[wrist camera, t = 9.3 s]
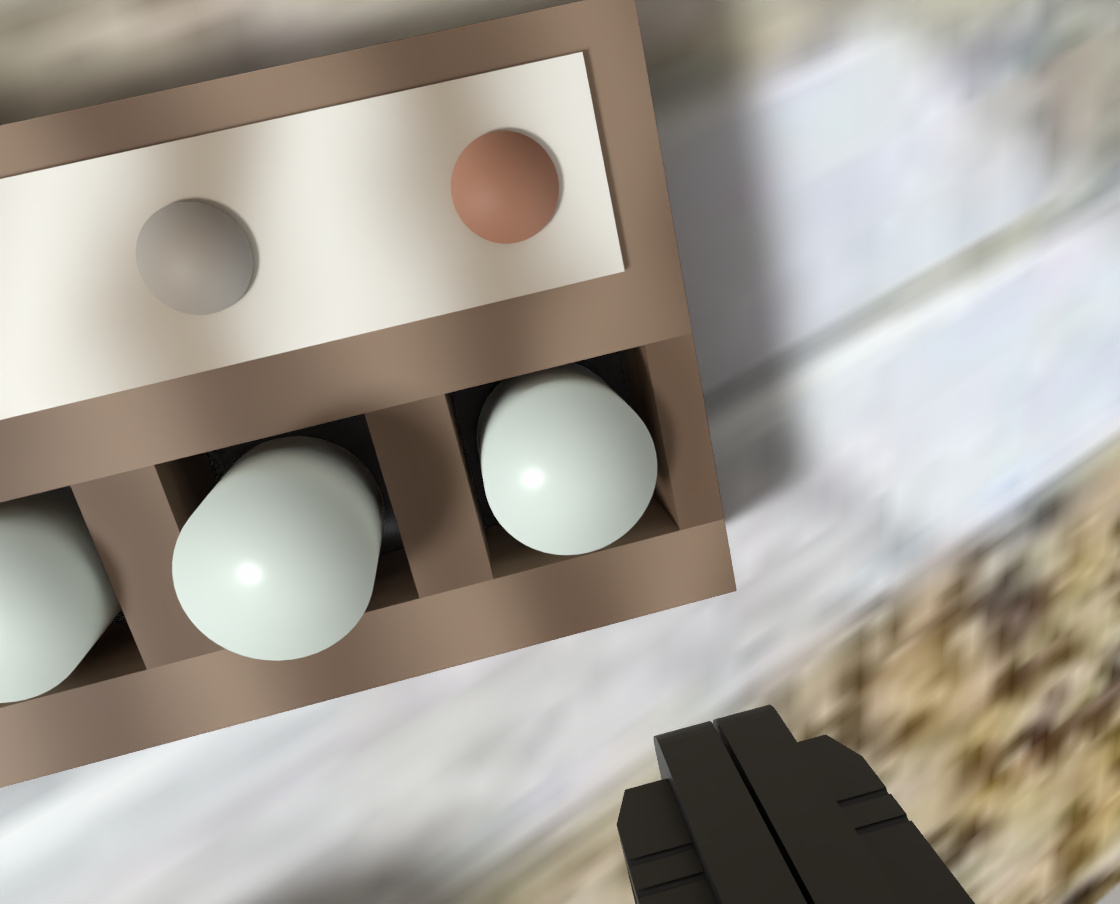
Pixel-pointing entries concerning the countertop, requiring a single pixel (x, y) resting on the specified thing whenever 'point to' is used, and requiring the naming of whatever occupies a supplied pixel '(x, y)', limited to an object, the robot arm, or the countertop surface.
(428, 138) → the brown wooden tray
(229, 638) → the button middle
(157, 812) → the countertop surface
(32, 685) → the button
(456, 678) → the countertop surface
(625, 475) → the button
